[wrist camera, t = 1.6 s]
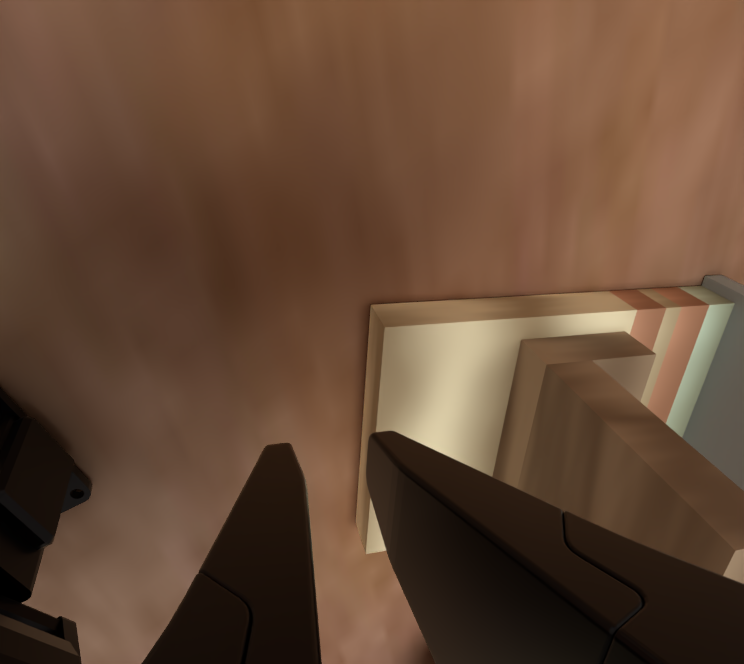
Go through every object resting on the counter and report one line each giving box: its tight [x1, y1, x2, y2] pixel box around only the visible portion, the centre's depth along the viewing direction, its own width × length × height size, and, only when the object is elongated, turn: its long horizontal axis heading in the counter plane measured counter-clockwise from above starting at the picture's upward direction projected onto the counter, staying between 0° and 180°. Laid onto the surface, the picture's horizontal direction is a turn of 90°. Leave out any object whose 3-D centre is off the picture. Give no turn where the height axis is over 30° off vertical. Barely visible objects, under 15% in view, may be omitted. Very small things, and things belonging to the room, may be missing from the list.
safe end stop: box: [682, 275, 744, 491], centre depth 28 cm, size 1×13×6 cm, turn 176°
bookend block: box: [492, 331, 744, 584], centre depth 22 cm, size 5×10×11 cm, turn 176°
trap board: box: [356, 286, 735, 554], centre depth 27 cm, size 16×12×2 cm
